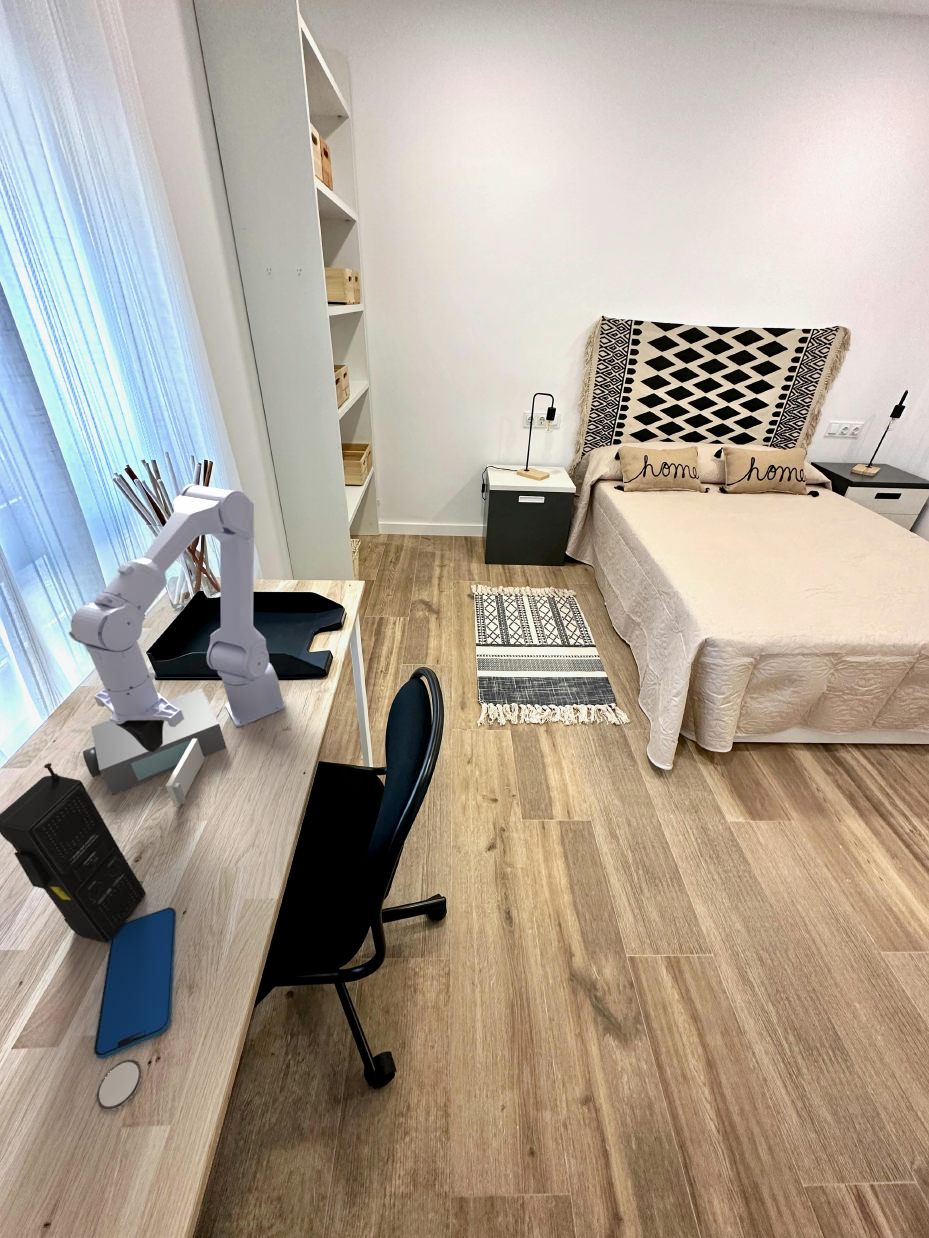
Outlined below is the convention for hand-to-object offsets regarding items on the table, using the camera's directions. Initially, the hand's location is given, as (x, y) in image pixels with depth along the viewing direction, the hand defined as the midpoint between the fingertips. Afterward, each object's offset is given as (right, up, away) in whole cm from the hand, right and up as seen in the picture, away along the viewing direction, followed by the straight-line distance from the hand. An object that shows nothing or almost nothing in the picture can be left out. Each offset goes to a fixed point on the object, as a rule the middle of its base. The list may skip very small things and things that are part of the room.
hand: (154, 746), depth 81 cm
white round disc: (+13, -29, -28) cm, 42 cm away
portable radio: (+2, -19, -14) cm, 24 cm away
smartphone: (+10, -23, -19) cm, 32 cm away
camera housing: (-5, -3, +11) cm, 13 cm away
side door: (+3, -7, +5) cm, 9 cm away
